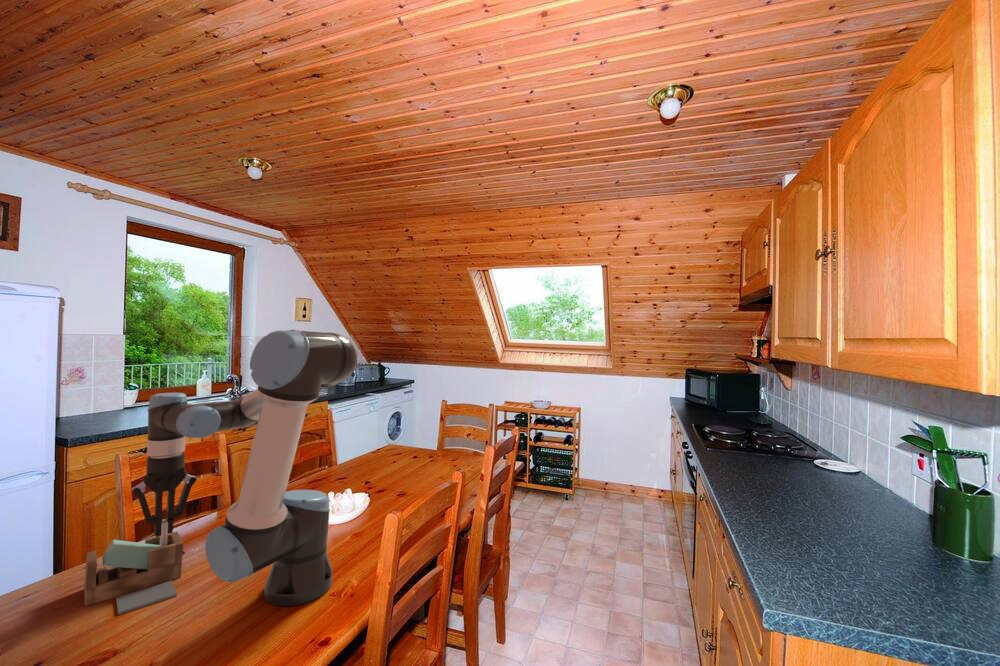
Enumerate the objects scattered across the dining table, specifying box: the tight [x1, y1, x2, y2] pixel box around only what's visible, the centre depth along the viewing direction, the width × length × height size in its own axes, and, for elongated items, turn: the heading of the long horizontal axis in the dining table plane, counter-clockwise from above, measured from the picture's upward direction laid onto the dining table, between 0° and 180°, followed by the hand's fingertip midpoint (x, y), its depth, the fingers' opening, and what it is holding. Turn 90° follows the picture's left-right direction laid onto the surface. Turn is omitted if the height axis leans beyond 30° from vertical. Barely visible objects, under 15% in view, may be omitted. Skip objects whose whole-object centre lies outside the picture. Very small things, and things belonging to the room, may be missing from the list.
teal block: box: [101, 539, 160, 569], centre depth 100 cm, size 12×5×4 cm, turn 137°
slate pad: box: [115, 580, 178, 616], centre depth 94 cm, size 7×10×1 cm
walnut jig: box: [83, 531, 184, 607], centre depth 99 cm, size 17×8×8 cm, turn 136°
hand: (163, 546), depth 103 cm, fingers closed
